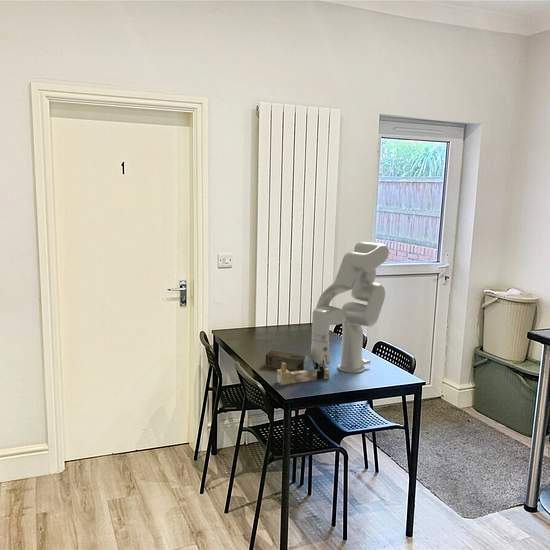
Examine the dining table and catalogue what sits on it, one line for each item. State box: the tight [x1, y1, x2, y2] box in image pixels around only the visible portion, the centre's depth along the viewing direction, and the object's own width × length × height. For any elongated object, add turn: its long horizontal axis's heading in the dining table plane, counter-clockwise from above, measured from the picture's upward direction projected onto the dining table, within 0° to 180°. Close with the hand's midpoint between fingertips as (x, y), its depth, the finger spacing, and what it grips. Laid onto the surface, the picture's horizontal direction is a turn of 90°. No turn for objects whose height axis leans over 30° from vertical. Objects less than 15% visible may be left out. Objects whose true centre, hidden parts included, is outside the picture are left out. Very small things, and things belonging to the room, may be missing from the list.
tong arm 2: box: [290, 368, 330, 384], centre depth 237 cm, size 18×1×4 cm, turn 113°
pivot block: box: [277, 373, 282, 386], centre depth 233 cm, size 4×3×4 cm
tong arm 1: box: [289, 367, 329, 383], centre depth 239 cm, size 18×1×4 cm, turn 112°
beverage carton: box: [265, 350, 310, 371], centre depth 255 cm, size 8×19×7 cm, turn 70°
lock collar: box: [276, 362, 291, 386], centre depth 233 cm, size 4×5×9 cm
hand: (318, 377), depth 240 cm, fingers open, 2 cm apart
